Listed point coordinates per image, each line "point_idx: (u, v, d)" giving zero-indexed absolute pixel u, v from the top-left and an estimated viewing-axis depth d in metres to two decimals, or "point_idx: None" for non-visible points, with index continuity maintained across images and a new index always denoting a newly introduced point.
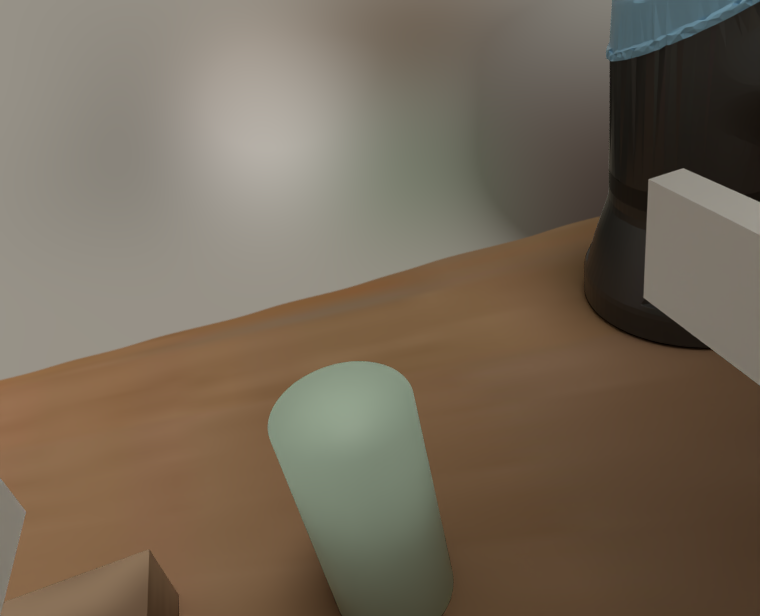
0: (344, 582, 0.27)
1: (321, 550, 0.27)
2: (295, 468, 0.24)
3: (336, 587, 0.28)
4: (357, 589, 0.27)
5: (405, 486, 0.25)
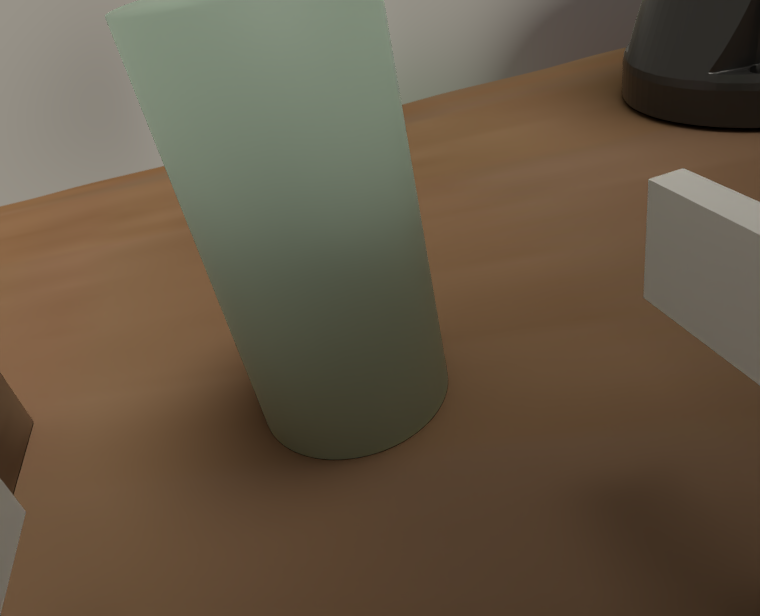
0: (260, 333, 0.16)
1: (218, 270, 0.15)
2: (141, 39, 0.12)
3: (251, 356, 0.17)
4: (283, 346, 0.16)
5: (358, 108, 0.13)
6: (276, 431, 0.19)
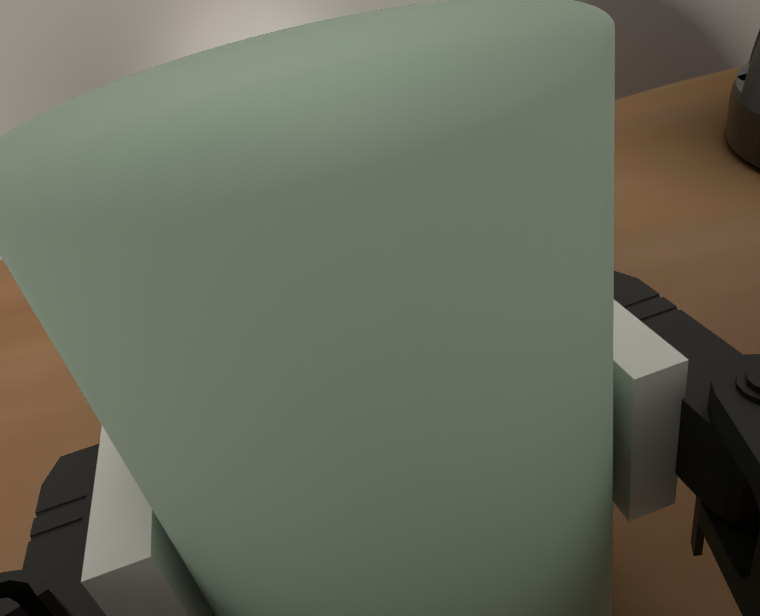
0: None
1: None
2: (35, 264, 0.04)
3: None
4: None
5: (574, 379, 0.06)
6: None
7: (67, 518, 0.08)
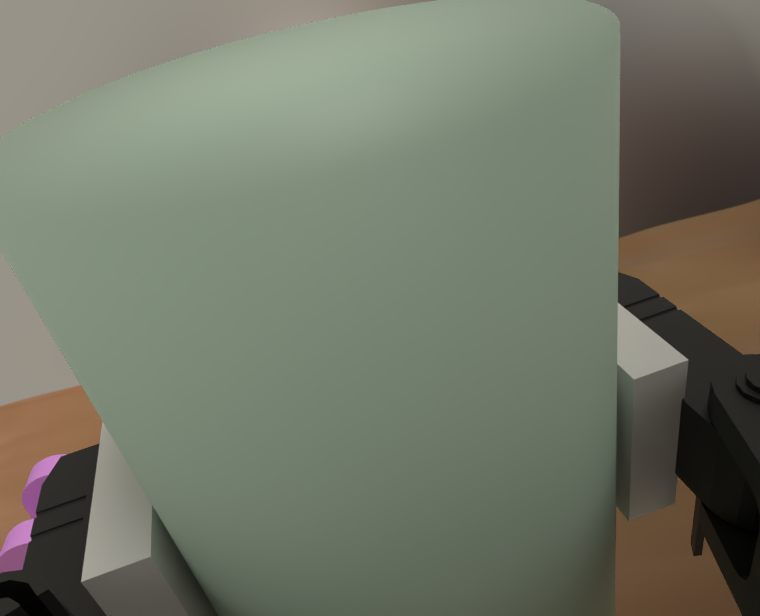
0: None
1: None
2: (39, 262, 0.04)
3: None
4: None
5: (579, 379, 0.06)
6: None
7: (67, 518, 0.08)
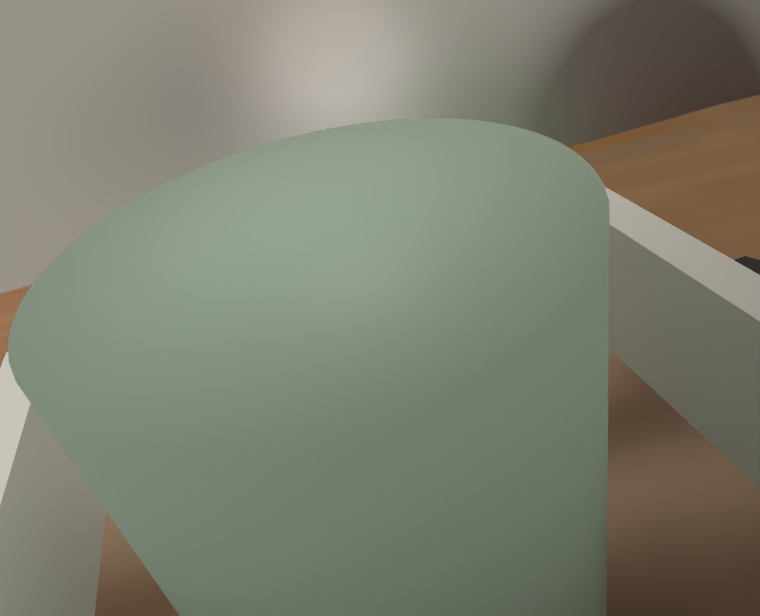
0: None
1: None
2: (84, 456, 0.05)
3: None
4: None
5: (571, 520, 0.06)
6: None
7: None
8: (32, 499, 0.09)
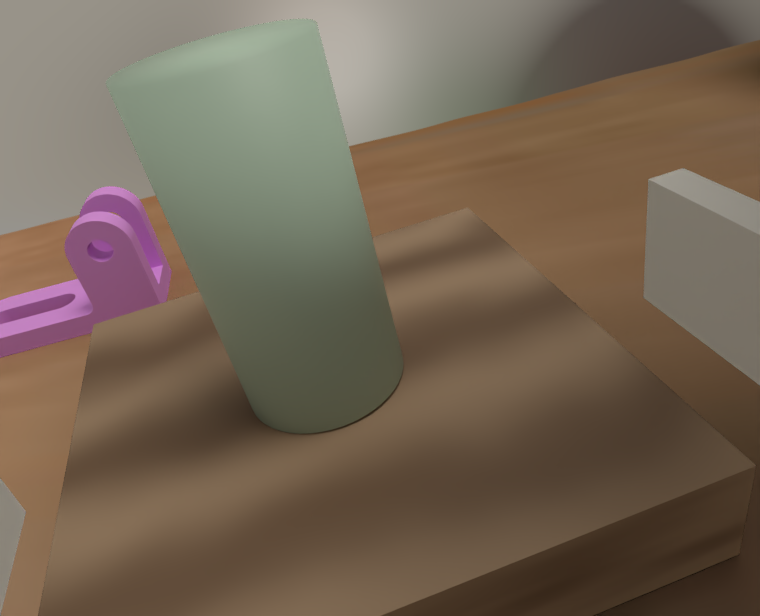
0: (236, 328, 0.20)
1: (201, 278, 0.19)
2: (132, 103, 0.16)
3: (232, 348, 0.21)
4: (255, 338, 0.20)
5: (304, 149, 0.17)
6: (257, 411, 0.22)
7: None
8: None
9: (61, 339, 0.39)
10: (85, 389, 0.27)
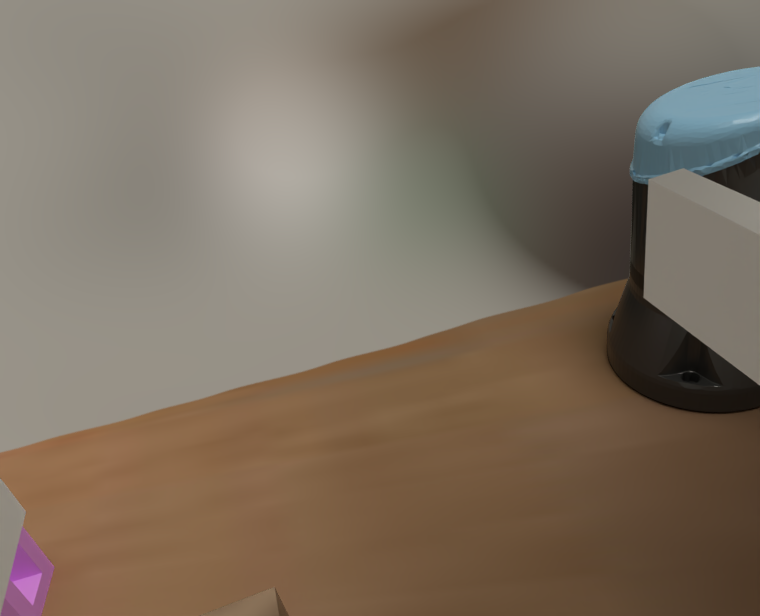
0: None
1: None
2: None
3: None
4: None
5: None
6: None
7: None
8: None
9: None
10: None
